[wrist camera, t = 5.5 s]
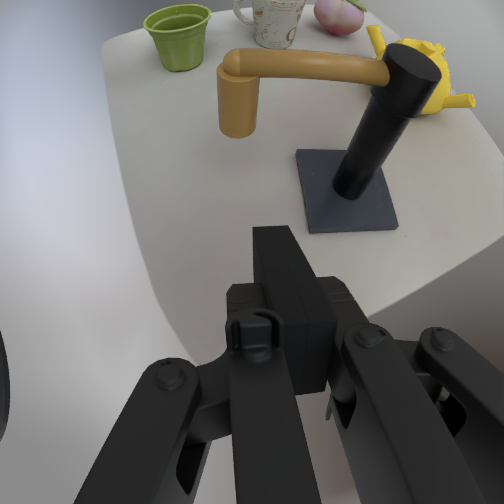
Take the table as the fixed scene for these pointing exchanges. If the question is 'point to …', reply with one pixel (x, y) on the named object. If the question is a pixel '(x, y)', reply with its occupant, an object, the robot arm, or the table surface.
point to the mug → (273, 21)
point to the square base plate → (352, 177)
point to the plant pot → (179, 34)
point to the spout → (323, 68)
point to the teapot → (436, 53)
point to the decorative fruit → (340, 15)
